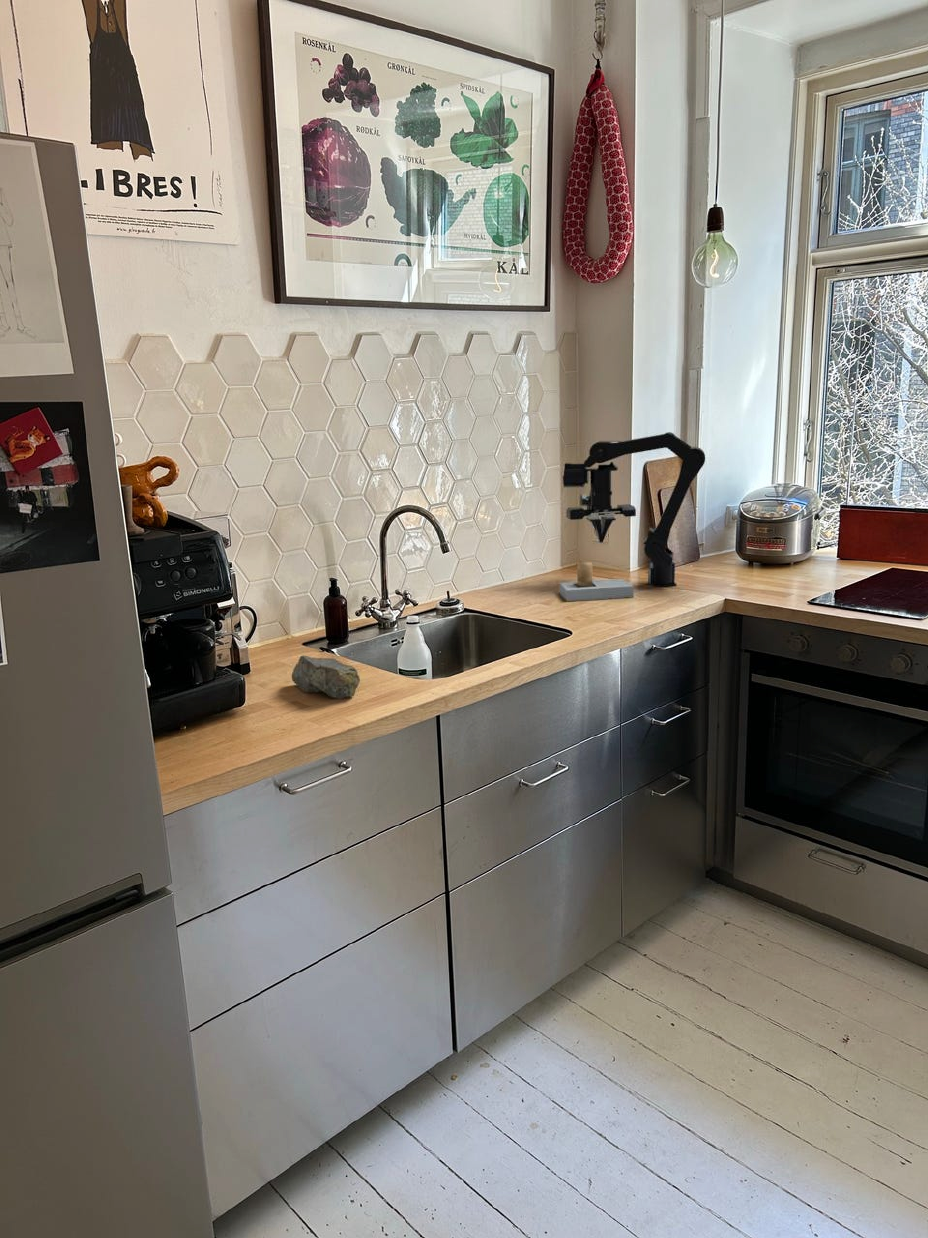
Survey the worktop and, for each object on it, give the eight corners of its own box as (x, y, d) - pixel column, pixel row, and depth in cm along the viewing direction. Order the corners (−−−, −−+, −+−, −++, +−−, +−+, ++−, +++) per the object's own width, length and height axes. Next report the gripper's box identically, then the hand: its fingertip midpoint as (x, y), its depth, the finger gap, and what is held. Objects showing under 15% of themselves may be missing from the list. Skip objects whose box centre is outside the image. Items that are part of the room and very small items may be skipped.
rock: (377, 668, 170) (340, 668, 162) (372, 703, 170) (335, 704, 162) (315, 652, 180) (278, 651, 172) (311, 684, 180) (273, 685, 172)
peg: (590, 593, 243) (590, 561, 241) (594, 597, 239) (594, 564, 237) (575, 594, 242) (575, 562, 240) (579, 598, 238) (578, 565, 236)
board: (623, 589, 246) (623, 578, 246) (633, 597, 237) (633, 586, 236) (559, 593, 245) (559, 582, 244) (566, 601, 235) (566, 590, 235)
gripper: (625, 482, 256) (625, 536, 260) (561, 485, 255) (562, 539, 259) (636, 486, 246) (636, 542, 250) (570, 489, 244) (571, 546, 248)
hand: (600, 542), depth 252 cm, fingers closed
